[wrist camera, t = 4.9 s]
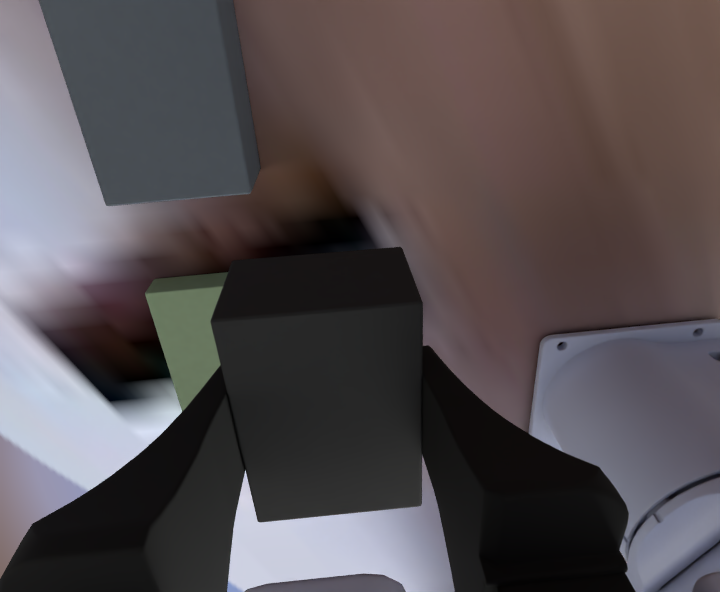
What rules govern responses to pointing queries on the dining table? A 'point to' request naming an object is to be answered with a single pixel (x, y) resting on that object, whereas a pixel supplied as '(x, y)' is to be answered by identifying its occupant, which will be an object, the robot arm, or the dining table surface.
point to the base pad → (187, 328)
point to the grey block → (158, 96)
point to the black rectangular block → (325, 380)
